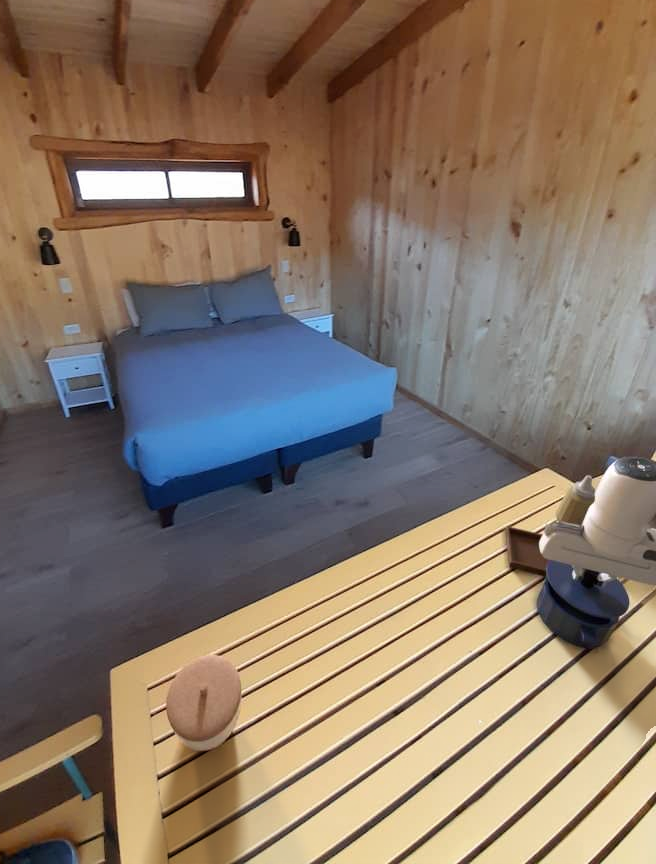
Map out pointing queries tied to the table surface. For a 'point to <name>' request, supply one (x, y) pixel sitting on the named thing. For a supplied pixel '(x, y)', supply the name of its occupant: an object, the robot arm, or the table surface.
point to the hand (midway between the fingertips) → (587, 580)
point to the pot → (572, 620)
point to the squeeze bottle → (576, 502)
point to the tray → (525, 551)
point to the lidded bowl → (204, 702)
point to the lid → (588, 591)
